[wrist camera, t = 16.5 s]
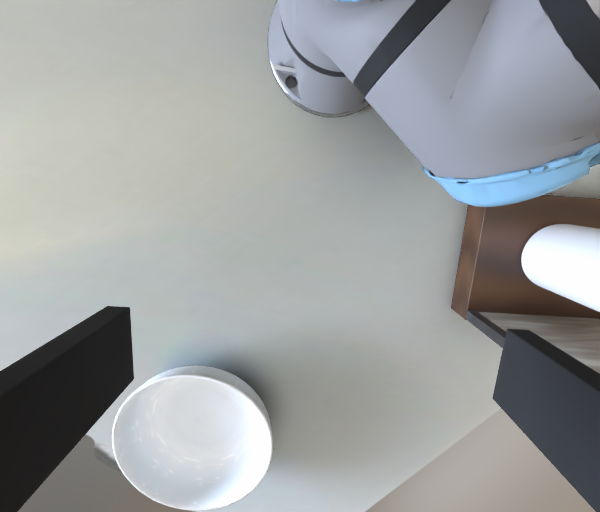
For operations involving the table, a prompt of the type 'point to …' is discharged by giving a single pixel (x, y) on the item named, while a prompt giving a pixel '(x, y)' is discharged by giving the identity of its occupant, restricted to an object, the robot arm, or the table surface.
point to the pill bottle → (565, 262)
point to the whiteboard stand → (523, 276)
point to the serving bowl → (193, 438)
